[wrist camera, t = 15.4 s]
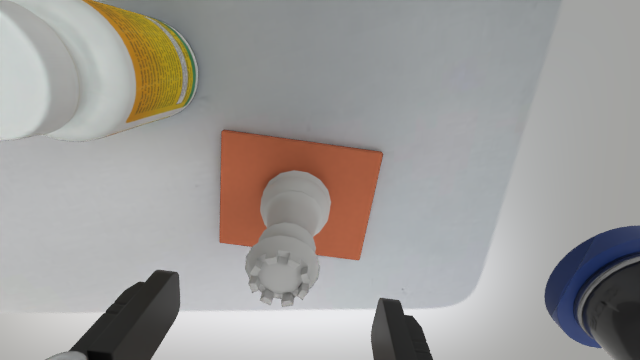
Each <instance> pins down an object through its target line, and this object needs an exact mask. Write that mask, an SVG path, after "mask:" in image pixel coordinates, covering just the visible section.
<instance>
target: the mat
mask: <svg viewBox="0 0 640 360" xmlns="http://www.w3.org/2000/svg"><path fill="white" fill-rule="evenodd" d="M382 157H383V153H382V152H379V151H372V150H365V149H358V148H351V147H344V146H336V145H329V144H322V143H315V142H308V141H301V140H293V139H286V138H279V137H272V136H265V135H258V134H251V133H243V132H236V131H229V130H223V131H222V135H221V191H220V243H227V244H235V245H243V246H251V247H253V246H254V245H255V244H257V243H258V241H259V238H260V236H261V235H262V233H263V232H264V230H266V229H267V227H266V225H265V224H264V221H263V219H262V216H261V212H260V206H261V198H262V196H263V191H264V189H265V188H266V186H267V184H268V183H269V181H270V180H271V179H273V178H274V177H276V176H277V175H279V174H280V173H284V172H288V171H293V170H295V171H302V172H308V173H310V174H311V175H313V176H315V177H317V178H318V179H320V180H321V181H322V183H323V184H324V185H325V187H326V188H327V189H328V192H329V196H330V200H331V205H330V212H329V217H328V221H327V223H326V224H325V225H324V227H323V228H322V230H321V231H320V232H319V233H318V234H316V235H315V236H314V237H313V239H314V242H315V246H316V250H315V254H316V255H321V256H329V257H337V258H345V259H353V260H359V259H360V255H361V250H362V246H363V241H364V237H365V233H366V228H367V224H368V219H369V215H370V210H371V206H372V201H373V197H374V192H375V188H376V183H377V179H378V174H379V170H380V165H381V161H382Z"/></svg>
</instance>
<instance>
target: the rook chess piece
mask: <svg viewBox="0 0 640 360" xmlns="http://www.w3.org/2000/svg"><path fill="white" fill-rule="evenodd" d="M330 205H331V200H330V196H329V192H328V189H327V188H326V187H325V185H324V184H323V183H322V181H321V180H320V179H318V178H317V177H315V176H313V175H311V174H310V173H308V172H302V171H295V170H293V171H288V172H284V173H280V174H279V175H277V176H276V177H274V178H273V179H271V180H270V181H269V183H268V184H267V186H266V188H265V189H264V191H263V196H262V198H261V206H260V212H261V216H262V219H263V221H264V224H265V225H266V227H267V229H266V230H264V232H263V233H262V235H261V236H260V238H259V241H258V243H257V244H255V245H254V246H253V247H252V248H251V250H250V251H249V253H248V255H247V256H246V266H245V269H246V272H247V274H248V277H249V279H250V281H249V286H250V289H251V291H252V293H253V292H256V291H258V290H260V291H261V292H262V295H261V298H260V301H262V302H264V303H266V304H268V305H271V302H272V299H273V298H278V299H282V300H281V304H282V307H286V306H292V305H293V302H294V297H296V296H298V297H299V298H300V299H302V300H303V299H304V297H305V296H306V295H307V293H308V292H309V289H310V288H311V287H312V286H313V285H314V283H315V282H316V281H317V279H318V275H319V270H320V265H319V262H318V258H317V255H316V254H315V250H316V246H315V242H314V239H313V237H314V236H315V235H316V234H318V233H319V232H320V231H321V230H322V228H323V227H324V225H325V224H326V223H327V221H328V217H329V212H330Z"/></svg>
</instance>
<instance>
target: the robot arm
mask: <svg viewBox="0 0 640 360" xmlns="http://www.w3.org/2000/svg"><path fill="white" fill-rule="evenodd" d="M179 308H180V288H179V274H178V273H177V272H172V271H164V270H156V271H155V272H154V273H153V274H152V275H151V276H150V277H149V278H148V280H147V281H146V282H138V283H136V284H135V285H133V286H131V287H130V288H128V289H126V290H125V291H124V292H123V293H122V294H121V295H120V296H119V297H118V298H117V300H116V301H115V303H114V304H112V305H111V306H110V307H109V308H108V309H107V310H106V313H104V314H103V315H102V316H101V317H100V318H99V319H98V320H97V321H96V322H95V324H93V326H92V327H91V328H90V329H89V330H88V331H87V332H86V333H85V334H84V335H83V336H82V338H81V339H80V340H79V341H78V342H77V343H76V344H75V345H74V346H73V347H72V348H71V349H70V350H69V351H68V352H63V353H59V354H56V355H54V356H52V357H50V358H48V359H46V360H151V358H152V356H153V355H154V353H155V351H156V350H157V348H158V347H159V345H160V344H161V342H162V340H163V339H164V337H165V335H166V333H167V332H168V330H169V329H170V327H171V326H172V324H173V322H174V321H175V319H176V317H177V315H178V312H179ZM573 313H574V317H575V320H576V322H577V324H578V325H579V326H580V327H581V328H582V330H583V331H584V332H585V333H586V334H587V335H588V336H590V337H591V338H592V339H594V340H595V341H596V342H597V343H598V344H599V345H600V346H601V347H602V348H603V349H604V350H605V351H606V352H607V353H608V354H609V355H610V356H611V357H612V358H613V359H614V360H640V252H637V253H632V254H629V255H626V256H623V257H620V258H618V259H616V260H614V261H612V262H610V263H608V264H606V265H605V266H603V267H602V268H600V269H599V270H597V271H596V272H595V273H594V274H592V275H591V276H590V277H589V278H588V279H587V280H586V282H585V283H584V284H583V285H582V287H581V288H580V290H579V291H578V293H577V295H576V298H575V301H574V306H573ZM371 342H372V350H373V356H374V360H433V358H432V356H431V354H430V350H429V347H428V344H427V343H426V339H425V336H424V333H423V330H422V327H421V326H420V325H419V324H418V322H417V321H416V320H415V319H414V317H413V316H408V315H404V313H403V309H402V306H401V303H400V301H399V300H393V299H385V298H380V299H379V301H378V305H377V309H376V313H375V317H374V321H373V325H372V331H371Z"/></svg>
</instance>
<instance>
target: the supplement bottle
mask: <svg viewBox="0 0 640 360" xmlns="http://www.w3.org/2000/svg"><path fill="white" fill-rule="evenodd" d="M197 84H198V66H197V62H196V59H195V56H194V54H193V51H192V49H191V48H190V46H189V44H188V43H187V42H186V40H185V39H184V38H183V36H182V35H181V34H180V33H179V32H178V31H176V30H175V29H174V28H172V27H171V26H169V25H168V24H166V23H164V22H162V21H159V20H157V19H154V18H151V17H148V16H144V15H141V14H137V13H134V12H131V11H127V10H123V9H121V8H117V7H114V6H110V5H107V4H103V3H99V2H95V1H92V0H0V140H1V141H9V140H17V139H22V138H26V137H31V136H36V135H44V136H47V137H50V138H54V139H58V140H63V141H70V142H84V141H91V140H96V139H100V138H103V137H107V136H110V135H113V134H116V133H119V132H122V131H125V130H128V129H132V128H134V127H137V126H140V125H143V124H147V123H150V122H154V121H157V120H160V119H163V118H167V117H170V116H172V115H175V114H177V113H179V112H180V111H182V110H183V109H184V108H186V107H187V106H188V105H189V103H190V102H191V101H192V99H193V98H194V95H195V92H196V89H197Z"/></svg>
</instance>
